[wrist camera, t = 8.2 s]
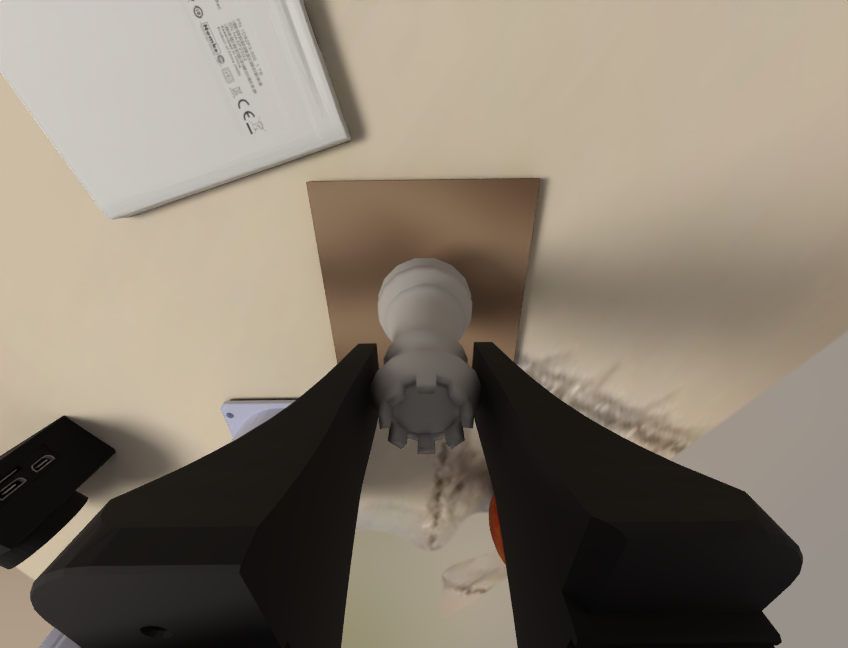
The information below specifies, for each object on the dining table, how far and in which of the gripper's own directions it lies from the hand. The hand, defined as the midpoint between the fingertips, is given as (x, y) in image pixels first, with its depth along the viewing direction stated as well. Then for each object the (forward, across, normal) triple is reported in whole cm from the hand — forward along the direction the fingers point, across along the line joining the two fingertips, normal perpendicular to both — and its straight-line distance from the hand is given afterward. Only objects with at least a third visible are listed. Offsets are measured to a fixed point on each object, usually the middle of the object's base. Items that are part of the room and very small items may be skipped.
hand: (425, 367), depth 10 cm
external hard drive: (+9, +10, -10) cm, 16 cm away
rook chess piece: (+6, 0, 0) cm, 6 cm away
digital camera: (+8, +29, +14) cm, 33 cm away
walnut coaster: (+8, 0, 0) cm, 8 cm away
